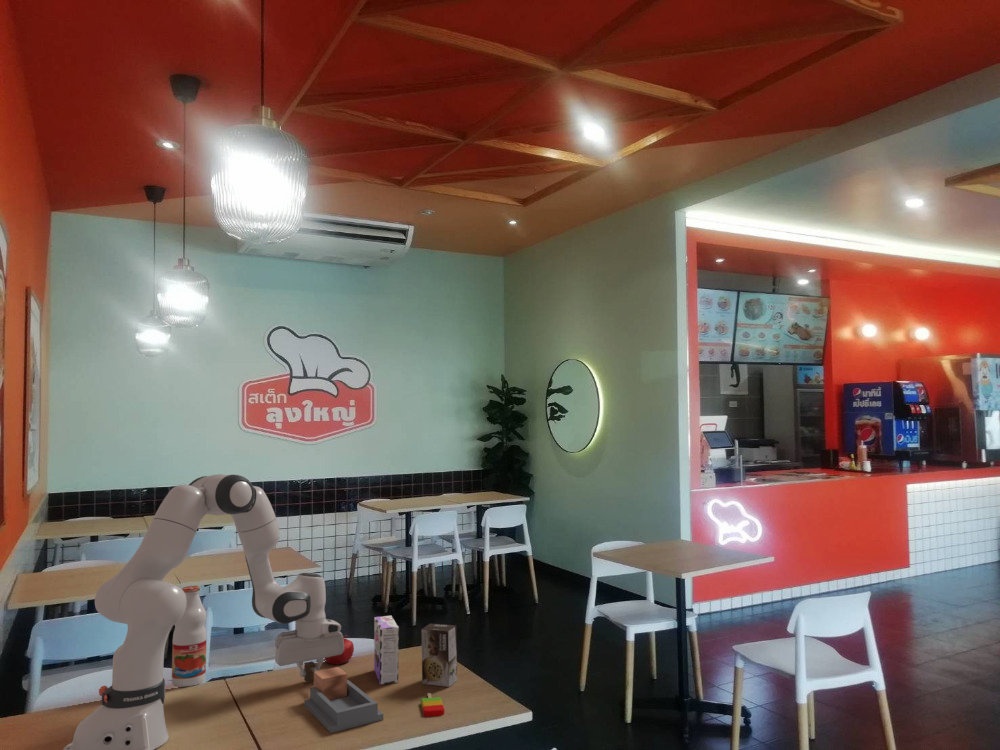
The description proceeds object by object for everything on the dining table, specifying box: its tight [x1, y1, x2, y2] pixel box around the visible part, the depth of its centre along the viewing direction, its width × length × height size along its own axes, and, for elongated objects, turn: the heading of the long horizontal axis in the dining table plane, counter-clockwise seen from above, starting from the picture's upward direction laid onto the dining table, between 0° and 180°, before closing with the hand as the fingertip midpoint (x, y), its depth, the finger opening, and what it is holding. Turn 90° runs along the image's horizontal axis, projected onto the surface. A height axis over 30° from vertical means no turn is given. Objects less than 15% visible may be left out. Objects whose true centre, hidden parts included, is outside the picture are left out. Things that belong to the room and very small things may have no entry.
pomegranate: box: [324, 635, 355, 665], centre depth 226 cm, size 10×10×9 cm
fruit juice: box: [171, 585, 208, 688], centre depth 210 cm, size 9×9×28 cm
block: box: [303, 660, 348, 700], centre depth 199 cm, size 7×23×7 cm, turn 33°
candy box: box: [373, 615, 400, 685], centre depth 212 cm, size 14×6×16 cm, turn 17°
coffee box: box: [420, 623, 458, 688], centre depth 207 cm, size 9×6×16 cm
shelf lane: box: [303, 679, 384, 734], centre depth 184 cm, size 14×21×4 cm, turn 34°
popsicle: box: [420, 692, 445, 718], centre depth 189 cm, size 6×15×2 cm, turn 12°
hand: (309, 675), depth 207 cm, fingers closed on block, 2 cm apart
